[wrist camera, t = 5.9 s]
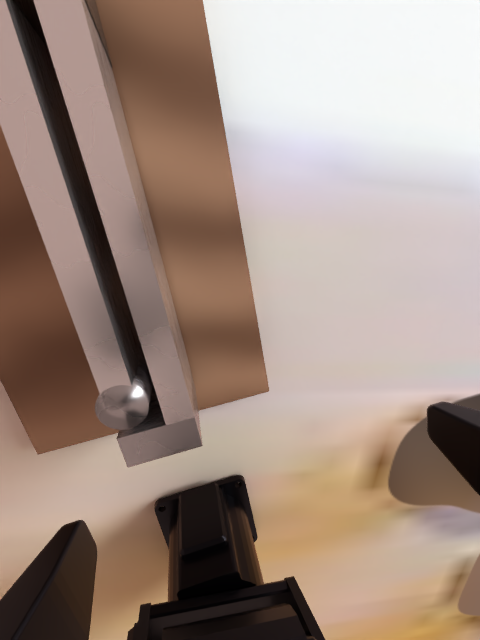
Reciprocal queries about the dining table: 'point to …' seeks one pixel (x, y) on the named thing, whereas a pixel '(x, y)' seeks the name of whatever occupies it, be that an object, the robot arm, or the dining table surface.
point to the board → (169, 225)
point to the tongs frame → (124, 225)
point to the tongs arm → (69, 216)
